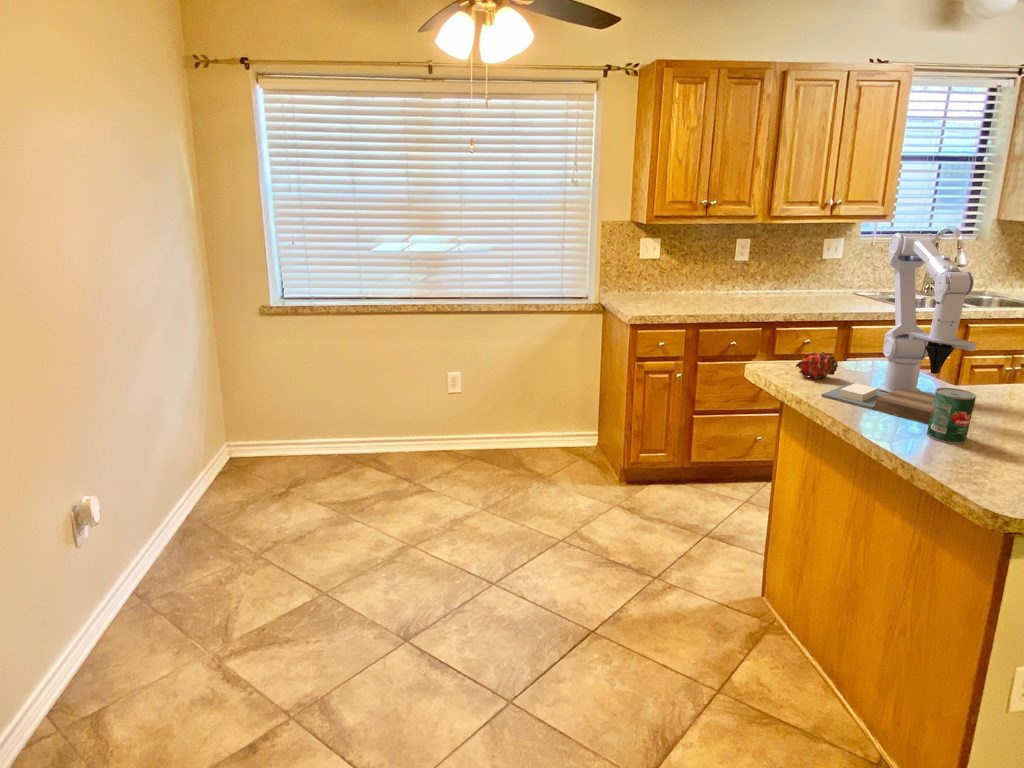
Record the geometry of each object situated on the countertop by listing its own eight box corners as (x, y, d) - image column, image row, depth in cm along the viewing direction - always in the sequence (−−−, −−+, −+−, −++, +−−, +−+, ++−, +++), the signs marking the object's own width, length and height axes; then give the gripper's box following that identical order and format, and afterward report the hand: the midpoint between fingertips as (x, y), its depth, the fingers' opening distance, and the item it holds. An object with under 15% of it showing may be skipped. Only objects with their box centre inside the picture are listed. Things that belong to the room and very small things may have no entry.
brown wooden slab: (899, 397, 184) (901, 387, 183) (956, 411, 174) (959, 400, 173) (873, 409, 174) (876, 398, 173) (933, 425, 164) (935, 413, 163)
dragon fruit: (839, 385, 200) (796, 387, 203) (833, 362, 205) (791, 365, 208) (843, 367, 194) (799, 370, 196) (837, 344, 199) (794, 348, 202)
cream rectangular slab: (877, 388, 184) (876, 395, 184) (855, 383, 188) (854, 389, 189) (863, 394, 178) (861, 401, 179) (840, 389, 182) (839, 396, 183)
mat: (848, 385, 194) (848, 383, 194) (897, 397, 185) (898, 395, 184) (821, 396, 185) (821, 394, 184) (871, 409, 175) (872, 407, 175)
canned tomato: (929, 428, 162) (938, 385, 158) (968, 436, 157) (978, 392, 154) (923, 438, 156) (933, 393, 153) (963, 446, 151) (974, 400, 148)
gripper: (908, 317, 170) (898, 369, 174) (973, 327, 159) (961, 382, 163) (919, 314, 174) (909, 364, 178) (983, 323, 163) (971, 377, 167)
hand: (934, 372), depth 171 cm, fingers closed
